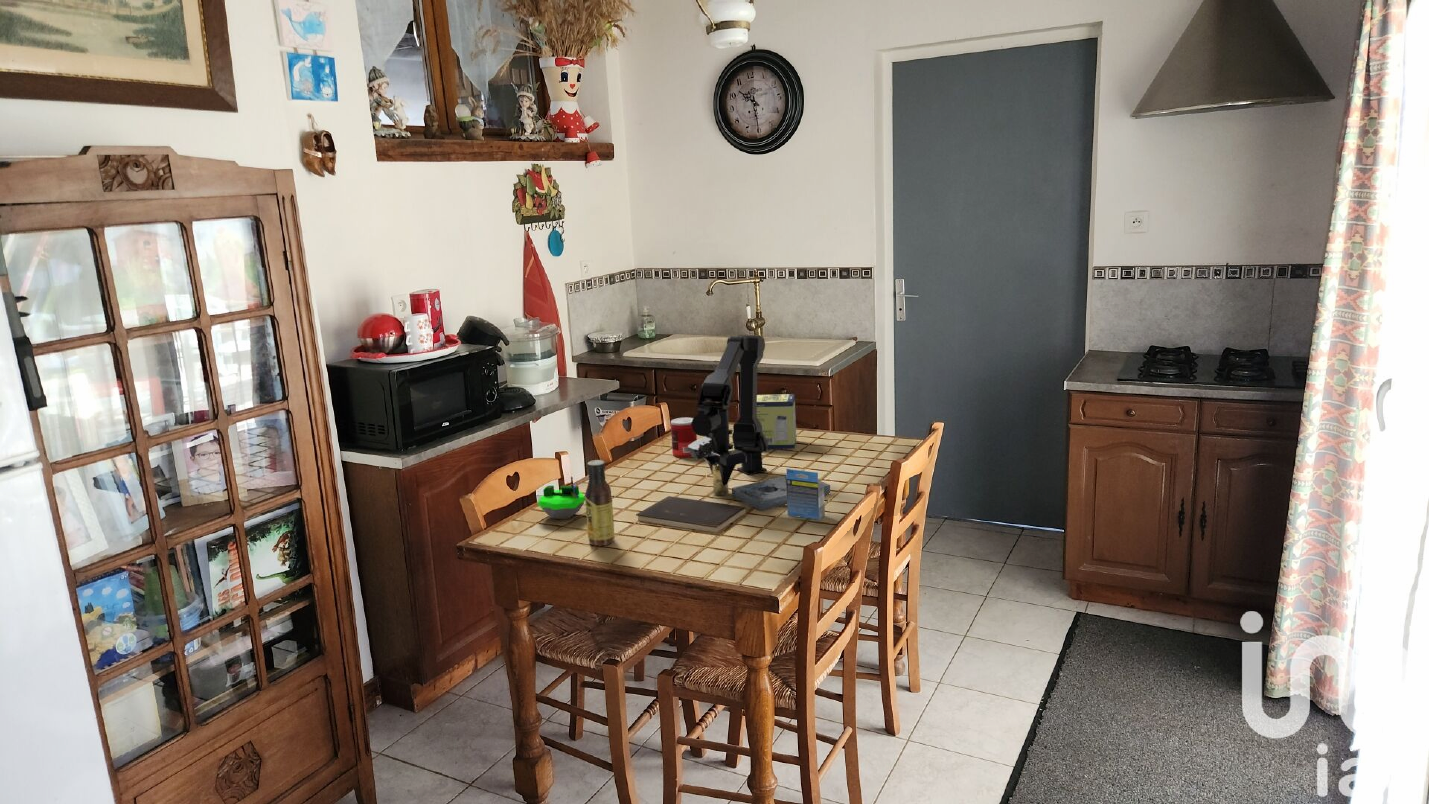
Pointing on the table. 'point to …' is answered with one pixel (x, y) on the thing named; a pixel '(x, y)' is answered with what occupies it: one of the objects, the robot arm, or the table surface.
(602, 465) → the sauce bottle
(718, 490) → the cylinder
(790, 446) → the protein box
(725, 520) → the hardcover book
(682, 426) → the canned food
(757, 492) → the jig
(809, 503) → the label tape box
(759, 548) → the table surface
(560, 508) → the green floating island model
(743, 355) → the robot arm
